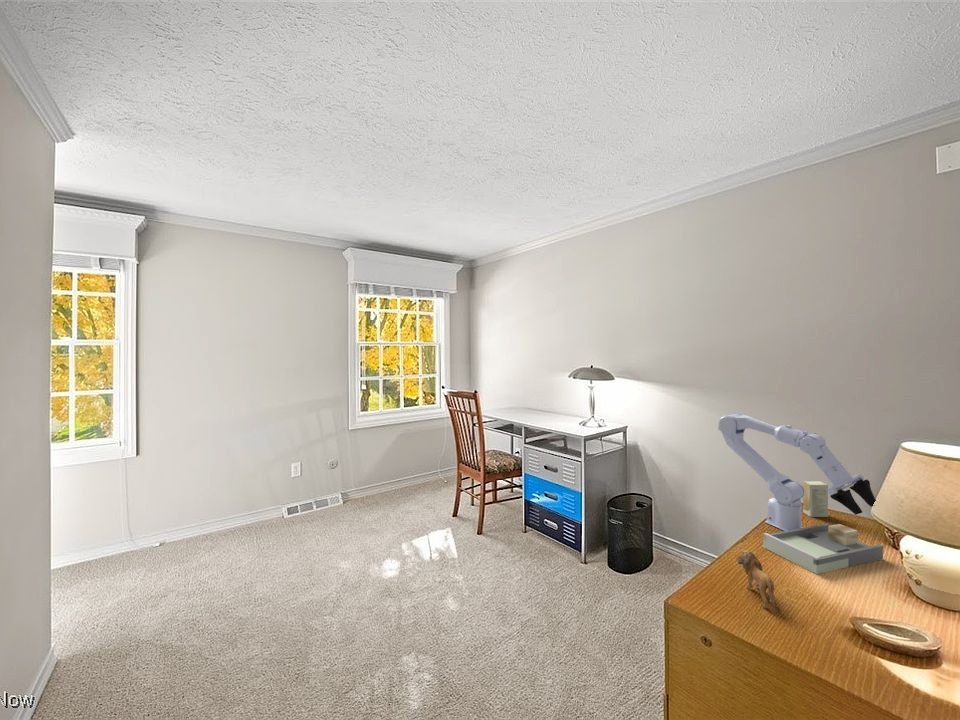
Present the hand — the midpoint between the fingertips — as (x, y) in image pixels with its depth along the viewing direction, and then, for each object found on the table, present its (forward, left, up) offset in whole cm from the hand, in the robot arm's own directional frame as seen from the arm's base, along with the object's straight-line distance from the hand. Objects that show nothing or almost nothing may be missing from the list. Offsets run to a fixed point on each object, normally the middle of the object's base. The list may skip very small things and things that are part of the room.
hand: (866, 509), depth 129 cm
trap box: (-4, -13, -13) cm, 19 cm away
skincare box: (-25, +14, -14) cm, 31 cm away
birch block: (-4, -4, -11) cm, 12 cm away
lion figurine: (+7, -51, -14) cm, 53 cm away
